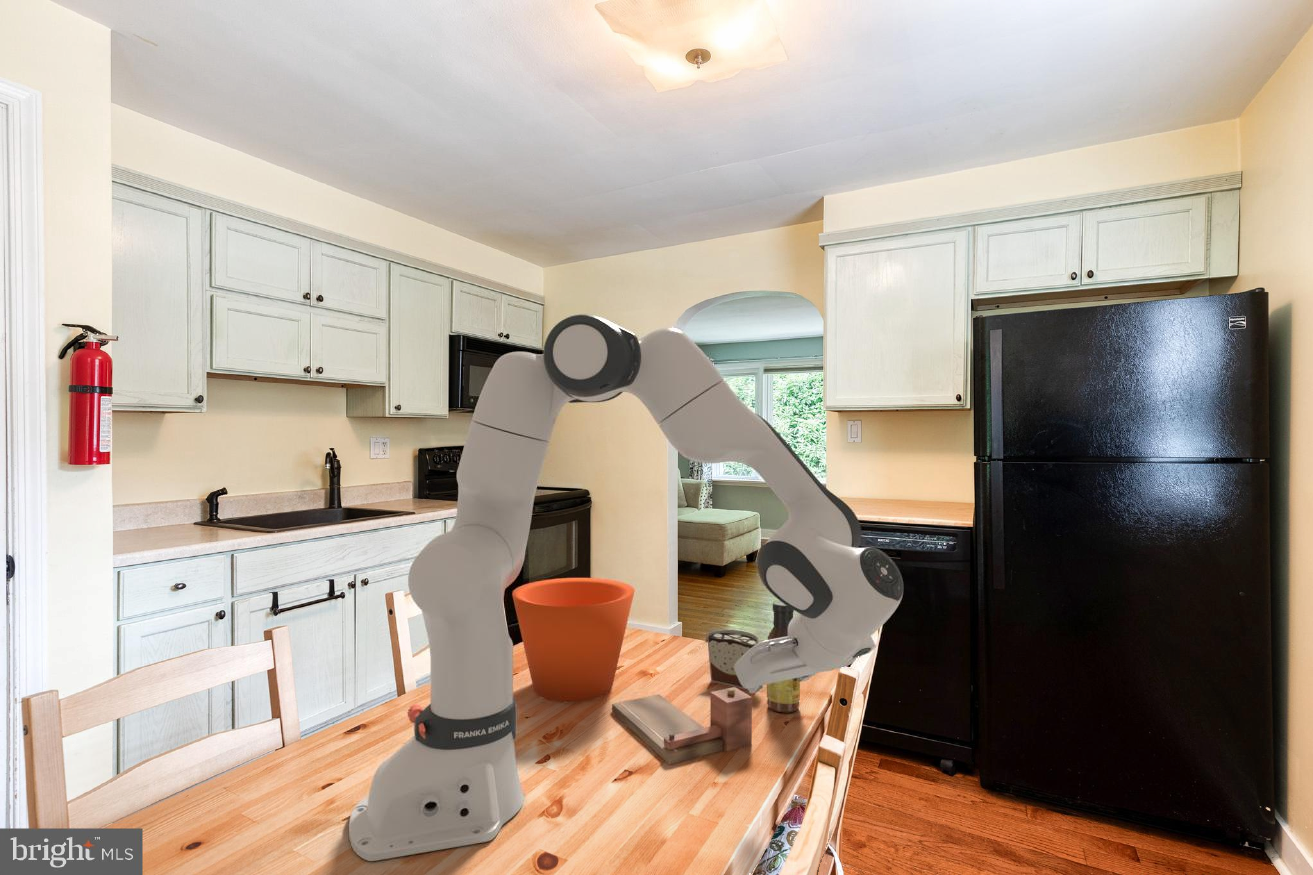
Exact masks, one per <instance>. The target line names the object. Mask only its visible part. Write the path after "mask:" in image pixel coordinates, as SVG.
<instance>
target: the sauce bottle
mask: <svg viewBox="0 0 1313 875" xmlns="http://www.w3.org/2000/svg"><path fill="white" fill-rule="evenodd" d="M772 611H773V622H772V623H773V627H772V629H771V630H770V632H769V634H768V636H767V640H770V639H776V638H781V637H787V636H788V625H789V623H790V621H791V620H792V618H793V617H794V612H795V610H793V609H792V608H790V607H788V606H787V605H785V604H784V603H782V602H781V601H780V600H779V601H774V602H772ZM800 695H801V682H799V681H798V679H797V678H793V679H789V680H784V681H780V682H775V683H771V684H766V698H767V702H766V704H767V705H766V706H767V707H768V708H769V709H771V710H772V711H774V712H778V713H785V714H786V713H787V714H789V713H792V712H793V713H794V712H795V711H798V709H799V707H800V700H801V696H800Z"/></svg>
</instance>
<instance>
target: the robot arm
mask: <svg viewBox="0 0 1313 875" xmlns="http://www.w3.org/2000/svg"><path fill="white" fill-rule="evenodd" d="M542 352H543V353H542V354H537V353H532V352H530V351H529V352H528V351H512V352H508V353H505V354H503V355H501V356H500V357H499V358H498V359H497V360H495V363H494V364H493V367H492V368H491V370H490V371H489V375H488V376H487V378H486V380H485V383H484V384H483V387H482V389H481V392H480V394H479V397H478V399H477V402H476V406H475V407H474V412H473V415H472V418H471V421H470V423H469V424H470V425H469V429H468V432H467V435H466V439H465V442H464V446H463V450H462V454H461V456H460V460H459V464H458V467H457V470H456V481H457V485H458V486H457V489H458V494H457V507H456V515H455V520H454V523H453V526H452V528H451V529H450V530H449V531H447V532H445V533H442V534H439V535H437V536H435V538H433V539H431V540H430V541H429V542H428V543H427V544H426V545H425V546H424V547H423V549H422V550H421V551H420V552H419V554H418V555H417V556H416V557H415V559H414V560H413V561H412V563H411V566H410V568H409V571H408V578H407V582H408V589H409V595H411V598H412V600H413V602H414V603H415V605H416V607H418V608H419V609H420V610H421V612H422V613H421V614H422V617H423V622H424V626H425V629H426V630H425V631H426V636H427V639H428V640H427V641H428V646H429V654H430V703H429V704H428V705H427V706H426V707H425V708H424V709H423V706H421V705H420V704H417V703H415V704H412V705H410V706H409V708H408V709H407V717H408V720H409V721H410V722H411V724H413V725H414V726H413V729H414V730H413V731H414V736H413V737H412V738H410V739H409V740H408V741H406V743H404V744H403V745H402V746H401V747H400V748H399V749H397V750H396V751H395V752H394V753H393V754H391V755H390V756H389V757H388V758H387V759H386V760H384V761H382V763H381V764H380V765H378V767H377V769H376V771H375V773H374V775H373V777H372V781H371V784H370V788H369V793H368V796H366V797H364V798H362V799H361V800H359V801H358V802H357V804H356V805H355V806H354V808H353V809H352V811H351V813H350V817H349V822H348V824H349V825H348V837H349V843H350V846H351V848H352V849H353V852H354V853H355V854H356V855H357V856H359V857H360V858H361V859H363V860H365V861H368V862H374V861H381V860H387V859H394V858H398V857H405V856H409V855H410V856H411V855H416V854H422V853H428V852H434V851H440V850H445V849H450V848H457V847H462V846H463V847H464V846H469V845H475V844H480V843H486V842H489V841H492V840H494V839H495V837H496V836H498V833H499V832H500V830H501V828H502V826H503V825H504V824H506V823H507V822H508V821H509V820H510V819H512V818H513V817H514V816H515V815H516V814H518V812H519V811H520V810H521V808H522V807H523V806H522V805H523V804H524V799H525V794H524V792H523V788H522V785H521V781H520V777H519V776H520V775H519V773H518V772H519V771H518V766H517V758H516V750H515V739H516V735H517V727H518V726H517V725H518V720H517V719H518V714H517V713H518V710H517V704H516V703H517V700H516V698H515V697H514V690H513V689H514V643H513V640H512V638H511V637H510V634H509V630H508V626H507V620H506V614H505V609H504V608H505V607H504V596H505V590H506V589H507V588H508V587H509V586H510V585H512V584H513V582H515V580H516V579H517V577H518V576H519V575H520V572H521V570H522V567H523V565H524V561H525V559H526V557H525V556H526V550H527V549H526V548H527V545H528V540H529V534H530V529H531V524H532V516H533V507H534V502H535V497H536V496H535V495H536V492H537V489H538V488H537V487H538V484H539V481H540V478H541V474H542V470H543V467H544V463H545V460H546V456H547V453H548V448H549V445H550V443H551V442H550V441H551V439H552V435H553V430H554V427H555V424H556V420H557V418H558V416H559V413H560V412H561V411H562V408H563V407H564V406H565V405H566V404H567V403H570V404H571V403H572V404H575V403H576V404H577V403H603V402H604V403H605V402H607V401H611V400H613V399H615V398H617V397H619V396H620V395H621V394H623V393H628V394H631V395H633V396H635V397H636V398H637V399H639V401H641V403H642V404H643V405H644V406H645V407H646V409H647V410H648V411H649V413H650V415H651V416H652V417H653V420H654V421H655V422H656V425H658V427H659V428H660V430H661V432H662V433H663V435H664V436H665V437H666V439H667V440H668V442H669V443H670V445H671V446H673V448H674V449H675V450H676V451H677V452H678V453H680V454H681V456H683V458H686V459H687V460H690V461H693V462H697V463H703V464H719V463H727V462H728V463H730V462H734V463H740V464H743V465H746V466H748V467H750V468H751V469H753V470H754V471H755V472H757V474H758V475H759V476H760V478H762V480H763V481H764V482H765V483H766V484H767V485H768V487H769V488H770V489H771V491H773V492H774V494H775V495H776V496H777V498H779V500H780V501H781V502H782V503H783V504H784V506H785V507H786V510H787V514H788V518H787V520H786V521H785V522H784V523H783V524H782V525H781V527H779V528H778V529H777V530H776V531H775V532H774V533H773V534H772V535H771V536H770V537H769V538H768V539H767V540H766V542H765V543H764V544H763V545H762V546H761V547H760V548H759V550H758V552H757V555H756V569H757V573H758V576H759V578H760V581H761V582H762V584H763V585H764V587H765V588H766V589H767V590H768V591H769V592H770V594H771V595H773V597H775V598H776V599H777V600H779V601H781V602H782V603H784V604H785V605H787V606H788V607H790V608H792V609H793V610H794V612H796V614H795V615H793V618H792V620H791V621H790V623H789V625H788V636H787V637H781V638H776V639H770V640H768V639H766V640H763V641H760V643H758V644H756V645H755V646H753V647H752V648H751V649H749V650H748V651H747V652H746V653H745V654H744V655H743V656H742V657H741V658H740V659H739V660H738V661H737V662H736V663H735V665H734V668H735V672H736V675H737V677H738V679H739V681H740V683H741V685H742V686H743V687H744V688H745V689H744V690H747V689H748V690H747V691H748V693H749V694H753V693H758V692H760V691H761V690H762V689H763V688H764V686H765V685H766V686H767V684H771V683H775V682H780V681H784V680H789V679H793V678H797V679H798V681H799V682H800V683H802V682H807V681H809V680H810V679H811V678H812V677H814V676H815V675H817V674H820V673H825V672H828V671H829V672H830V671H834V670H837V669H842V668H841V667H843V668H845V667H847V666H849V665H851V664H853V663H855V662H856V661H857V660H856V658H858V656H859V658H861V657H863V656H864V655H868V654H870V653H871V652H873V651H874V650H875V648H876V647H877V645H876V643H875V641H874V639H873V635H874V634H875V633H876V632H877V631H879V629H881V627H882V626H883V625H884V624H885V623H886V622H887V621H888V620H889V619H890V618H891V616H892V615H893V614H894V613H895V612H896V610H897V609H898V607H899V605H900V604H901V601H902V599H903V595H904V588H905V587H904V580H903V577H902V573H901V572H900V569H899V568H898V565H896V563H895V562H894V561H893V559H892V558H891V557H890V556H889V555H887V554H886V552H883V550H881V549H878V548H875V547H872V546H871V547H869V546H867V547H859V546H860V544H861V540H862V527H861V524H860V521H859V518H858V516H857V515H856V514H855V512H854V510H853V509H852V508H851V507H850V506H849V505H848V504H847V503H846V502H844V501H843V500H842V499H840V498H839V497H838V496H837V495H835V494H834V493H833V492H831V490H829V489H828V488H827V487H826V486H825V485H823V483H821V482H820V480H819V479H818V477H816V476H815V474H814V473H813V472H812V470H810V468H809V467H808V466H807V465H806V464H805V462H803V461H802V459H801V458H800V457H799V455H798V454H797V453H796V452H795V451H794V449H793V448H792V447H791V446H790V444H788V443H787V441H786V440H785V439H784V438H783V436H781V434H780V433H779V432H778V431H777V430H776V429H775V428H774V427H773V426H772V424H770V423H769V422H768V420H766V419H765V418H764V417H762V416H761V415H759V414H757V413H755V412H753V411H752V409H750V408H749V407H748V406H747V405H746V404H744V402H743V401H742V400H741V399H740V398H739V396H738V395H736V393H735V391H733V390H732V388H731V387H730V385H729V384H728V383H727V381H726V380H725V378H724V377H723V376H722V374H721V373H720V371H719V370H718V368H717V367H716V366H715V365H714V363H713V362H712V360H710V359H709V358H708V356H707V355H706V354H705V352H704V351H703V350H702V348H700V347H699V346H698V345H697V344H696V343H695V342H694V341H693V339H691V338H690V337H689V336H688V335H687V334H686V333H685V332H684V331H682V330H680V329H677V328H674V327H666V328H665V327H664V328H660V329H655V330H654V331H652V332H649V333H647V334H646V335H644V336H643V337H641V338H639V339H638V336H637V335H636V334H635V333H633V332H631V331H629V330H627V329H625V328H623V327H621V326H619V325H617V324H615V323H613V322H611V321H610V320H607V319H605V318H604V317H600V316H597V315H594V314H586V313H584V314H583V313H580V314H575V315H570V316H568V317H565V318H563V319H561V320H560V321H559V322H558V323H556V324H555V325H554V327H552V329H551V330H550V331H549V333H548V334H547V337H546V339H545V342H544V346H543V351H542ZM859 658H858V659H859ZM855 660H856V661H855Z"/></svg>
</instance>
